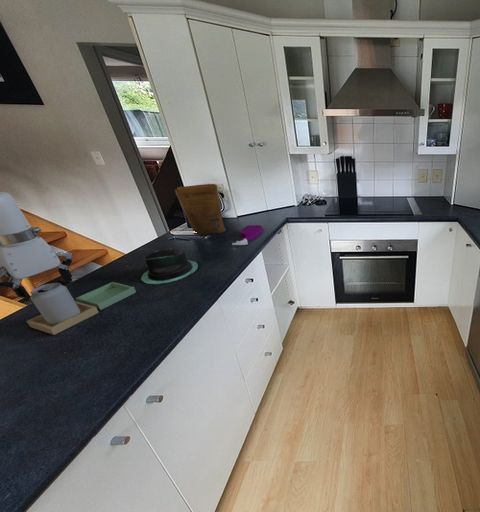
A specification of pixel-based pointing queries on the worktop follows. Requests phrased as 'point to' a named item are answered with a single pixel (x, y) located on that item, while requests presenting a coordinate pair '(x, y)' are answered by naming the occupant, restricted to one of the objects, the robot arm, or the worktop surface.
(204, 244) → the worktop surface
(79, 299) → the far tray
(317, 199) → the worktop surface
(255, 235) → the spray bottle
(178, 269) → the black and teal hat
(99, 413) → the worktop surface
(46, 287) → the can
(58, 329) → the near tray
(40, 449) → the worktop surface
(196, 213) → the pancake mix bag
